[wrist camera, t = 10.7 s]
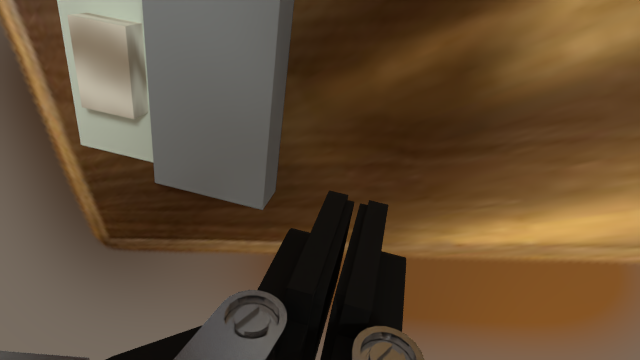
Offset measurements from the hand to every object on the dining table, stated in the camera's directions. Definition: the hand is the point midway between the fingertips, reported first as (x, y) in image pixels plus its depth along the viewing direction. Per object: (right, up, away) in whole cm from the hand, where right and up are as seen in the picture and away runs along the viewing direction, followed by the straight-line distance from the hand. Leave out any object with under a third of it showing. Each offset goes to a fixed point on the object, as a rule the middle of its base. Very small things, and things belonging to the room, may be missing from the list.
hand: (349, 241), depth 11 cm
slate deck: (-10, +11, +28) cm, 32 cm away
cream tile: (-22, +13, +27) cm, 37 cm away
